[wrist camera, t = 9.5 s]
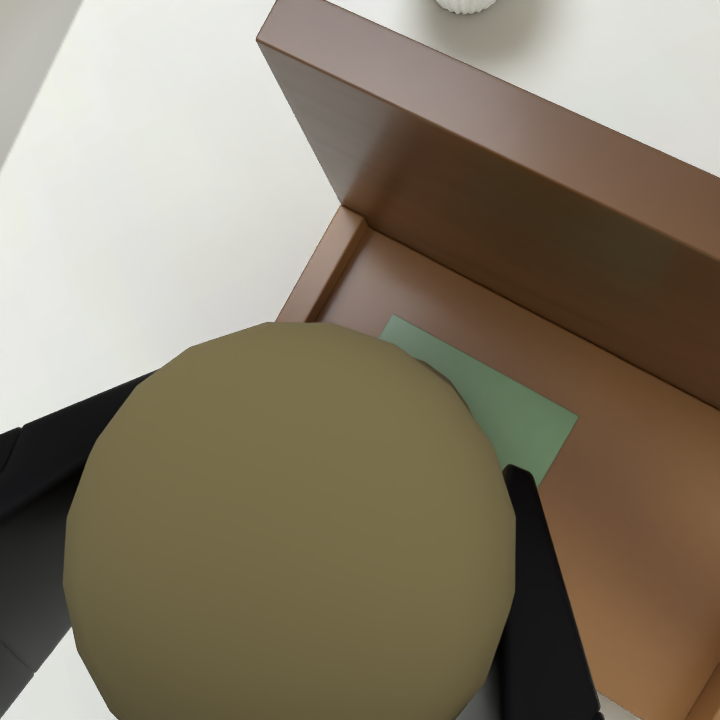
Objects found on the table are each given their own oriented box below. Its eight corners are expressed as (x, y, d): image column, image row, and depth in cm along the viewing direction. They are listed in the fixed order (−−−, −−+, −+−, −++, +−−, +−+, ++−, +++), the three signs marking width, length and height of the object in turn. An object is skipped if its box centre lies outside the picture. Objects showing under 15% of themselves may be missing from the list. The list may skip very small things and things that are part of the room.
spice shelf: (654, 693, 19) (1075, 1283, 7) (248, 438, 22) (-4, 507, 10) (805, 440, 19) (1552, 551, 6) (373, 216, 22) (285, -20, 9)
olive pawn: (301, 334, 16) (20, 212, 5) (495, 369, 15) (658, 307, 4) (265, 525, 16) (-108, 821, 5) (460, 571, 15) (534, 1061, 4)
